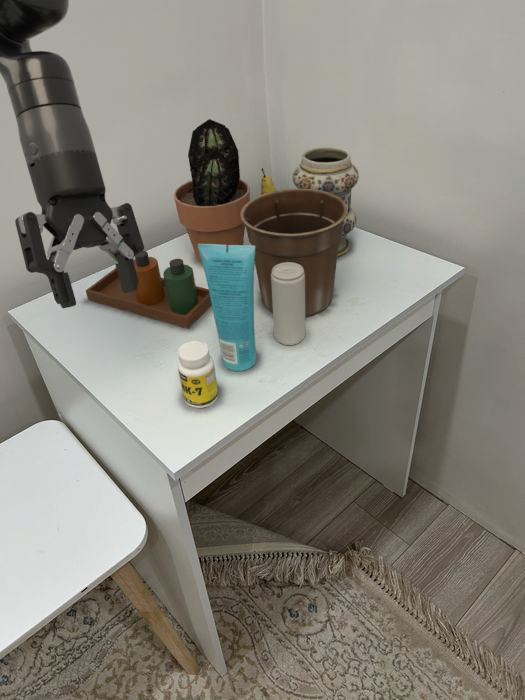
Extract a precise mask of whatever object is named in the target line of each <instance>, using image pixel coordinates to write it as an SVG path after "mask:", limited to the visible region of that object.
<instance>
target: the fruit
mask: <svg viewBox="0 0 525 700" xmlns="http://www.w3.org/2000/svg"><path fill="white" fill-rule="evenodd" d="M261 171H262V174H263V175H262V176H261V181H260V182H261V183H260V195H263V194H266V193H269V192H273V191H277V188H276V185H275V183H274V181H273V179H272V178H271V176H269V175H268V174H265V171H264V168H263V167H261Z"/></svg>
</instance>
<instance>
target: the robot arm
mask: <svg viewBox="0 0 525 700" xmlns="http://www.w3.org/2000/svg"><path fill="white" fill-rule="evenodd" d="M69 6H70V0H0V76H1V77H2V78H3V81H4V83H5V85H6V89H7V94H8V96H9V99H10V103H11V106H12V110H13V114H14V116H15V121H16V124H17V125H16V126H17V130H18V137H19V142H20V146H21V149H22V153H23V156H24V159H25V163H26V167H27V170H28V174H29V177H30V179H31V184H32V187H33V190H34V194H35V198H36V201H37V203H38V204H39V206H40V208H41V214H39V213H38V214H35V213H34V212H32V211H28V212H26V213H24V214H21V215H20V216H18V217H16V218H15V221H14V223H15V227H16V231H17V235H18V240H19V243H20V248H21V252H22V257H23V261H24V264H25V268H26V270H27V271H28V273H30V274H31V273H37V274H43V275H45V277H47V278H48V282H49V285H50V289H51V291H52V296H53V298H54V299H53V300H54V301H55V303H56V304H57V305H60V307H61V308H62V309H68V308H72V307H76V305H77V299H76V296H75V292H74V289H73V285H72V281H71V278H70V275H69V272H68V271H66V272H65V269H66V265H67V262H68V260H69V257H70V255H72V253H73V252H74V251H77V250H80V249H82V248H86V249H90V248H95V247H98V249H100V250H101V251H103V252H106V253H107V254H108V255H109V256H110V258H112V259H113V260H114V261H115V262H116V263H114V265H115V268H116V269H117V273H118V276H119V280H120V283H121V287H122V291H123V292H124V293H129V292H133V291H136V290H137V289H138V287H137V285H138V283H139V280H138V277H137V273H136V269H135V266H134V262H133V260H134V259H135V255H137V254H138V253H139V252H142V251H145V245H144V241H143V238H142V235H141V231H140V229H139V225H138V222H137V219H136V217H135V212H134V210H133V209H134V208H133V207H132V205H131V203H129V202H125V203H122V204H121V205H118V206H113V207H110V205H109V203H108V202H107V200H106V191H107V190H106V185H105V181H104V178H103V173H102V171H101V167H100V163H99V159H98V156H97V153H96V149H95V144H94V141H93V137H92V133H91V130H90V128H89V126H88V123H87V121H86V118H85V115H84V113H83V110H82V105H81V101H80V98H79V94H78V91H77V87H76V84H75V80H74V77H73V72H72V70H71V68H70V66H69V63H68V61H66V60H65V58H64V57H62V56H61V55H60V54H58V53H55V52H52V51H46V50H34V51H33V50H32V47H31V42H30V40H31V39H33V38H36V37H37V36H39V35H41V34H42V33H44V32H47V31H49V30H51V29H52V28H55V27H56V26H58V25H59V24H60V23H62V21H63V20H64V19H65V18H66V16H67V14H68V12H69ZM111 223H113V224H114V225H115V226H116V228H117V230H116V229H115V228H114V227H113V225H111ZM44 229H46V231H47V232H49V233H50V234H51V235H52V238H51V240H50V242H49V246H48V247H47V248H48V249H47V252H46V249H45V246H44V242H43V237H42V233H43V231H44ZM46 253H47V254H46Z"/></svg>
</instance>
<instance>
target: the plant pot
mask: <svg viewBox="0 0 525 700" xmlns="http://www.w3.org/2000/svg"><path fill="white" fill-rule="evenodd" d="M347 211H348V208H347V205H346V203H345V202H344V201H343V200H342V199H341V198H339V197H337V196H335V195H333V194H331V193H328V192H324V191H320V190H313V189H298V188H287V189H279V190H276V191H273V192H269V193H266V194H263V195H261V194H260V195H258V196H255V197H254V198H252V199H250V201H249V202H248V203H247V204H246V205H245V206H244V207H243V208H242V210H241V219H242V222H243V223H244V225H245V231H246V235H247V240H248V242H249V244H250V246H255V259H254V268H255V272H256V277H257V282H258V287H259V293H260V300H261V302H262V305H263V306H264V307H265V308H266V310H268V311H270V312H271V313H273V302H272V284H271V274H272V269H273V267H274V266H276V265H278V264H280V263H285V262H292V263H297V264H299V265H301V266H302V267H303V269H304V273H305V317H310V316H313V315H315V314H318V313H321V312H322V311H324V310H326V308H327V307H329V306H330V305H331V303H332V301H333V297H334V289H335V281H336V273H337V272H336V271H337V263H338V257H337V255H338V247H339V240H340V238H341V236H342V230H343V222H344V219H345V218H346V216H347Z"/></svg>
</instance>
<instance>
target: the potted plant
mask: <svg viewBox="0 0 525 700" xmlns="http://www.w3.org/2000/svg"><path fill="white" fill-rule="evenodd" d="M190 138H191V139H190V143H189V148H188V153H187V158H188V163H189V171H190V175H191V180H188V181H186V182H185V183H182V184H180V186H178V187H177V188H176V189H175V190H174V193H173V198H174V202H175V203H174V204H175V207H176V212H177V217H178V220H179V222H180V224H181V225H182V226H183V227H184V228H185V230H186V233H187V236H188V239H189V240H190V243H191V246H192V248H193V251H194V254H195V256H196V259H197V261H198V262H199V263H200V264H202V265H203V263H202V259H201V256H200V253H199V249H198V244H217V245H244V240H245V231H246V227H245V225H244V223H243V222H242V219H241V210H242V208H243V207H244V206H245V205H246V204H247V203H248V202H249V201H251V190H250V189H251V188H250V185H249V184H248V183H247V182H246V181H244V180H242V179H241V172H240V171H241V169H240V155H239V150H238V147H237V145H236V142H235V139H234V138H233V136H232V133H231V131H230V129H229V127H227V126H226V125H225V124H223V123H220V122H218V121H216V120H213V119H211V118H208V119H207V120H206V121H204V122H203V123H201V124H200V125H198V126H197V127H196V128H195V129H194V130H192V133H191V137H190Z"/></svg>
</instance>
